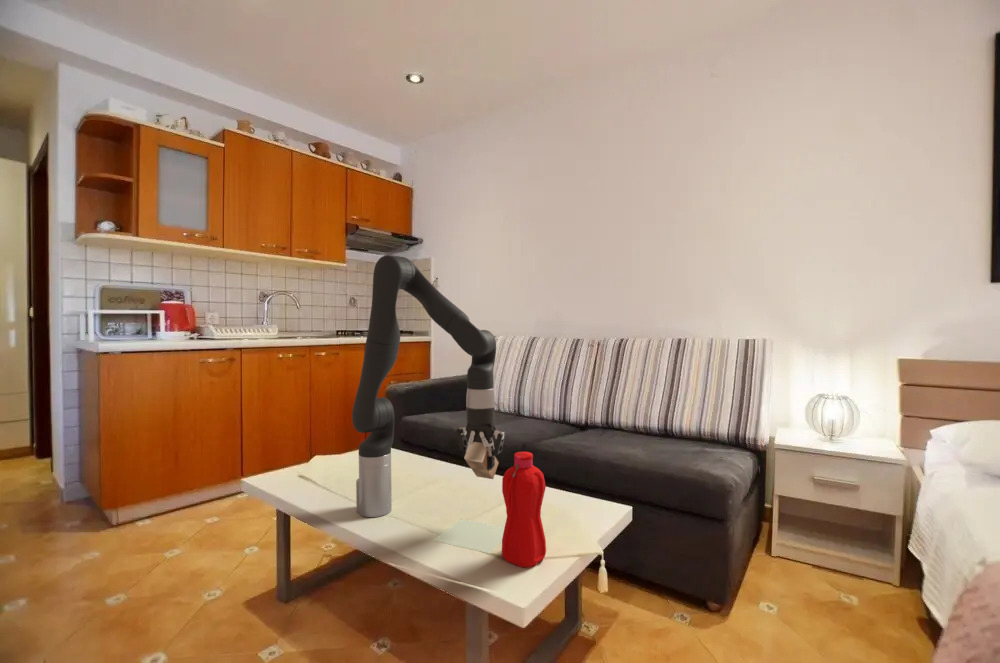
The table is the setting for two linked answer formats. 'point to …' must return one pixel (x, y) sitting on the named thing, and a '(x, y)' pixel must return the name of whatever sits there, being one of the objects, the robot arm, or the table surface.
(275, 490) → the table surface
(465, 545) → the sage mat
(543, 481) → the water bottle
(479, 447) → the walnut block
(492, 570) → the table surface
